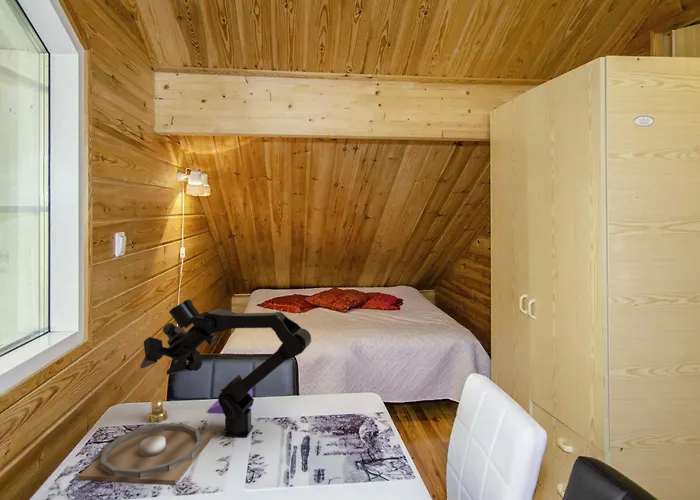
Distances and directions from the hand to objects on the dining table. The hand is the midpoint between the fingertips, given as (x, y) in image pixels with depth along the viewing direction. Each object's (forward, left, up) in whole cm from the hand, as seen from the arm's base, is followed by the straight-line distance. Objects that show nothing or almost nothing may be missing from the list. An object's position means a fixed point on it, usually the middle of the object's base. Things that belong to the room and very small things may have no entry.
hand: (154, 370), depth 129 cm
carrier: (-8, +16, -17) cm, 24 cm away
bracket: (-19, -12, -17) cm, 28 cm away
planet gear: (+2, -4, -17) cm, 17 cm away
